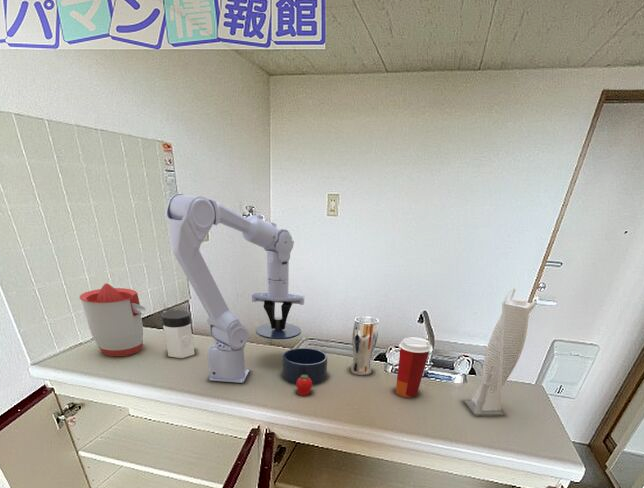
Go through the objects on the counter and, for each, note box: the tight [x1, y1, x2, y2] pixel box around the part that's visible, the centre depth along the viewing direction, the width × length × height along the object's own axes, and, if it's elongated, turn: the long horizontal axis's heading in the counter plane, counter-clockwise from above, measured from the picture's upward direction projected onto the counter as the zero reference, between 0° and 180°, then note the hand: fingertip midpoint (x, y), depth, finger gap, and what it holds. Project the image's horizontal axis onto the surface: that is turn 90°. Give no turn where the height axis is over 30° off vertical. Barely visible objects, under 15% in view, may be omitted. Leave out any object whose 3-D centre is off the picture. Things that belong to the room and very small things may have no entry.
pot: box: [282, 347, 328, 386], centre depth 113 cm, size 12×12×6 cm
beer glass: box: [350, 315, 380, 376], centre depth 114 cm, size 7×7×15 cm
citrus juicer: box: [79, 282, 147, 357], centre depth 121 cm, size 16×17×20 cm
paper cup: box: [395, 336, 432, 398], centre depth 103 cm, size 8×8×14 cm
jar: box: [161, 310, 195, 359], centre depth 122 cm, size 9×8×12 cm
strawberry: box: [295, 375, 313, 396], centre depth 105 cm, size 4×4×5 cm
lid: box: [255, 316, 302, 340], centre depth 116 cm, size 13×13×4 cm
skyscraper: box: [463, 287, 537, 417], centre depth 94 cm, size 8×8×28 cm
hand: (278, 328), depth 117 cm, fingers closed on lid, 2 cm apart
